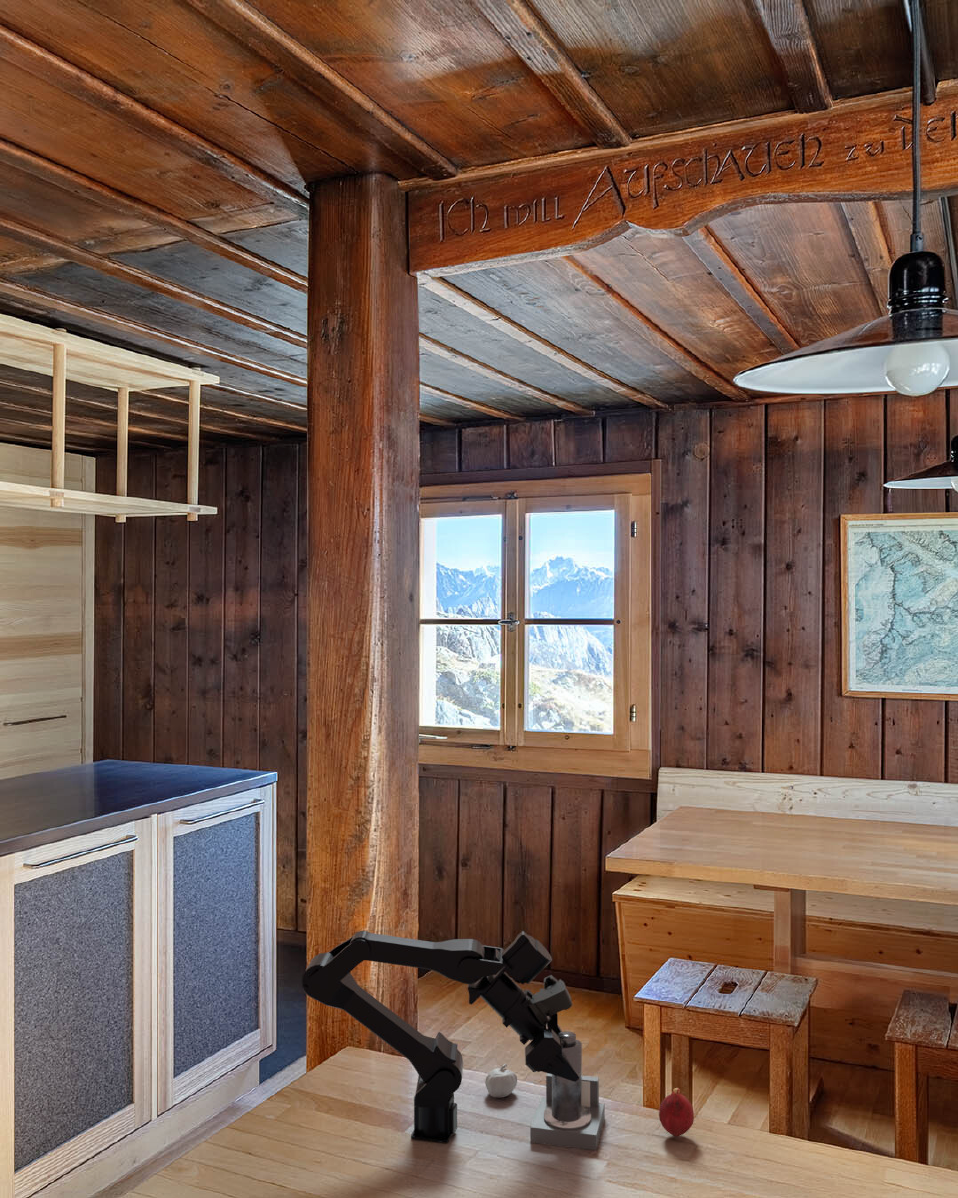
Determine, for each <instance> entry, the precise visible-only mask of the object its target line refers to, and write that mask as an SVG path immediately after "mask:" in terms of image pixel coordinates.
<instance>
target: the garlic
mask: <svg viewBox="0 0 958 1198" xmlns="http://www.w3.org/2000/svg"><path fill="white" fill-rule="evenodd" d="M507 1066H508V1063H504V1064H503V1065H502V1066H501V1067H497V1068H494V1069H492V1070H491V1071H490V1072H489V1073H488V1074H487V1075H486V1078H485V1087H486V1089H487V1092H488V1094H489V1095H490V1096H491V1097H493V1098H504V1097H507V1096H509V1095H511V1094H512V1093H513V1091H514V1090H515V1089H516V1087H517V1084H518V1077H517V1074H516V1073H515V1072H514V1071H512V1070H510V1069H508V1068H506V1067H507Z"/></svg>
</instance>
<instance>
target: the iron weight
mask: <svg viewBox="0 0 958 1198" xmlns="http://www.w3.org/2000/svg"><path fill="white" fill-rule="evenodd" d="M558 1037H559V1039H560V1038H561V1041H562V1053H563V1054H564V1056H565V1057H566V1058H567V1060H568V1061H569V1062H570V1064H571V1065H572V1067H573V1068H574V1069H575V1071H576V1072H577V1074H578V1075H579V1079H578V1080H577V1081H576V1082H574V1081H571V1080H568V1079H565V1078H562V1077H559V1076H556V1075H552V1116H553V1117H554V1118H555V1119H557V1120H559V1121H563V1122H573V1121H576V1120H578V1119H580V1118H581V1096H582V1076H583V1073H582V1072H583V1069H582V1068H583V1067H582V1061H583V1060H582V1056H583V1055H582V1054H583V1053H582V1052H583V1051H582V1050H583V1049H582V1047H583V1045H582V1042H581V1041H580V1040H579V1039H577V1034H576V1033H575V1032H572V1031H569V1030H566V1031H563V1030H562V1032H560V1033H559V1034H558Z"/></svg>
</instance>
